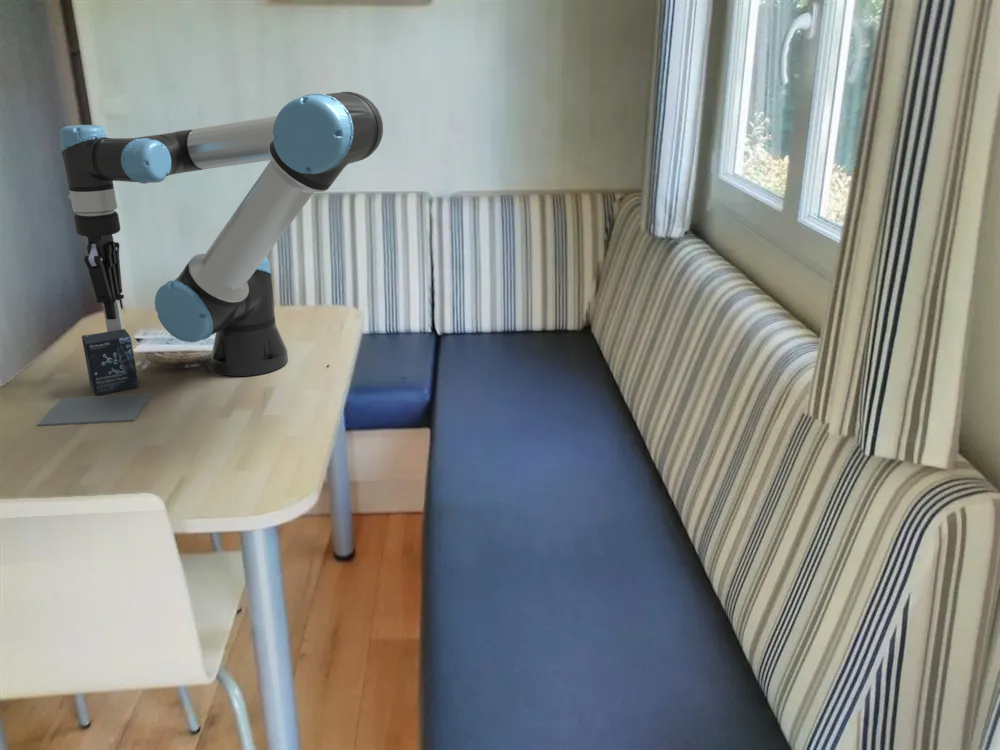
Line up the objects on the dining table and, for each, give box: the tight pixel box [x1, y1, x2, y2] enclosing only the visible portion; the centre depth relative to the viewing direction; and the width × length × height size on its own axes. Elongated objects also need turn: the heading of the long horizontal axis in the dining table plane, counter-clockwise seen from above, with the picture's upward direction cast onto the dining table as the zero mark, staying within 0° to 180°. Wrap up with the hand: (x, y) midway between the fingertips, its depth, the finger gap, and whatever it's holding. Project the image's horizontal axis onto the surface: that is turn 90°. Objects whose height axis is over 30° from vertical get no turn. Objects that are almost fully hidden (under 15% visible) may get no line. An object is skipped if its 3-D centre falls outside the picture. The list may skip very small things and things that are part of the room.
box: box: [81, 328, 139, 396], centre depth 161 cm, size 8×6×11 cm
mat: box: [37, 393, 152, 427], centre depth 153 cm, size 16×12×1 cm
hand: (116, 333), depth 165 cm, fingers closed
